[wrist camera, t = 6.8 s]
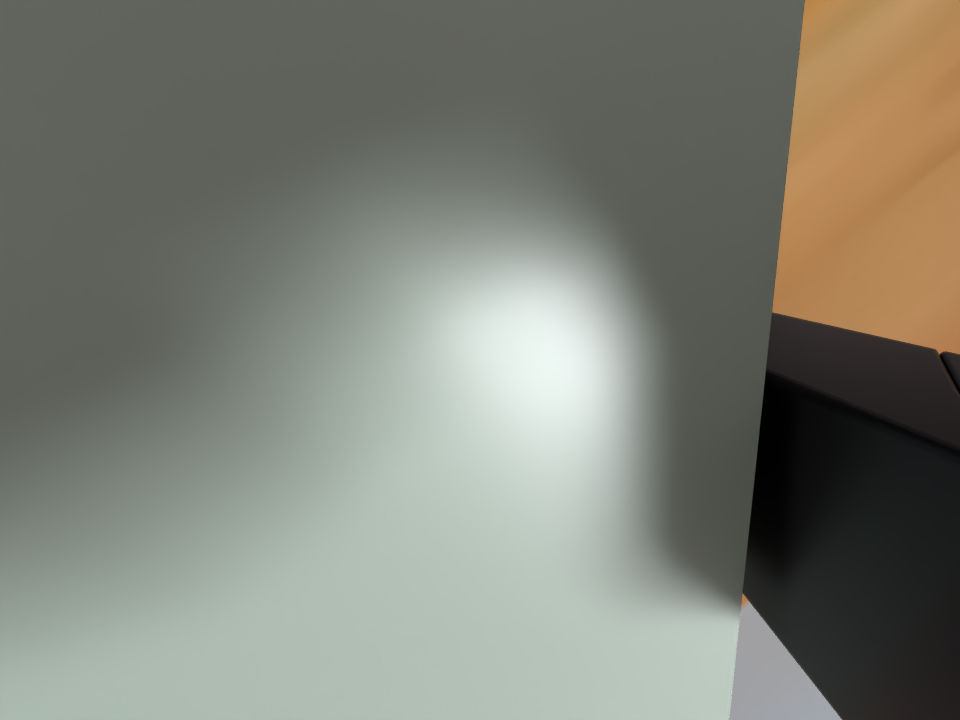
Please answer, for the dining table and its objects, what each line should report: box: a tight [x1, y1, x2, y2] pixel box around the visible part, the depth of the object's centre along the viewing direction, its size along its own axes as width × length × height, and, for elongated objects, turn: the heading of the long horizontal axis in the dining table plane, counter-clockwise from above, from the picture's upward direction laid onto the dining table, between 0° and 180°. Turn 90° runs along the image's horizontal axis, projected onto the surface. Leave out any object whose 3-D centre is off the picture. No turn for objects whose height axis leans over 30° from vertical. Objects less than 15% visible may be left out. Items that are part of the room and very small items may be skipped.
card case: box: [0, 0, 805, 720], centre depth 8 cm, size 9×6×4 cm, turn 7°
